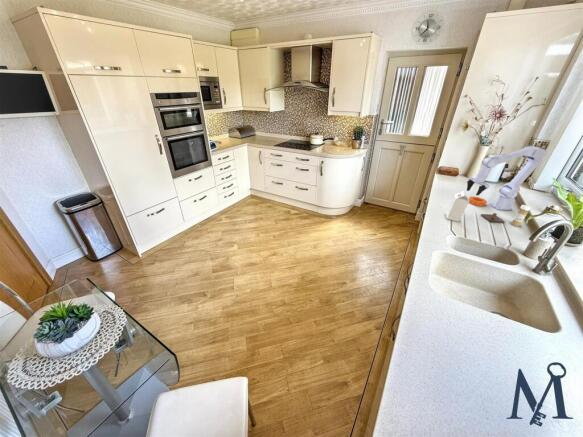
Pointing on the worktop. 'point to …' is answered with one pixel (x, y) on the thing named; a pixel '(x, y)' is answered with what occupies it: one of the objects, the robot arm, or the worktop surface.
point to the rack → (493, 218)
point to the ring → (477, 201)
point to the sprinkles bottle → (520, 215)
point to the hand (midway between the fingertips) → (472, 192)
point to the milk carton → (457, 206)
